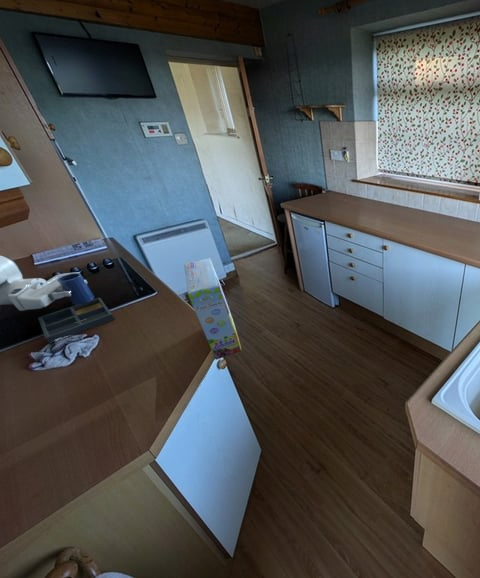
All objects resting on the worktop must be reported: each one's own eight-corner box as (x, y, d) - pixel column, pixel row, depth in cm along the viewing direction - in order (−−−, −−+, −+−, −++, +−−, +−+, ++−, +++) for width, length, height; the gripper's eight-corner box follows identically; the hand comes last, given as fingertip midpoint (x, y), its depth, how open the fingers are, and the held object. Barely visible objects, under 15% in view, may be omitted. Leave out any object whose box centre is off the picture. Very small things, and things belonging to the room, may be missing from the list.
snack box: (206, 325, 107) (182, 262, 94) (232, 317, 111) (212, 256, 98) (213, 361, 92) (185, 292, 78) (243, 351, 96) (221, 284, 83)
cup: (74, 306, 107) (59, 283, 102) (71, 300, 110) (56, 277, 105) (96, 299, 111) (82, 276, 106) (92, 294, 114) (78, 271, 109)
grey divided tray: (49, 344, 98) (45, 338, 97) (42, 323, 107) (37, 317, 106) (115, 319, 110) (111, 314, 108) (103, 302, 119) (99, 297, 118)
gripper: (61, 283, 116) (100, 281, 118) (15, 313, 99) (62, 310, 101) (52, 269, 113) (93, 267, 115) (3, 298, 96) (52, 295, 98)
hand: (78, 287), depth 108 cm, fingers closed on cup, 6 cm apart
